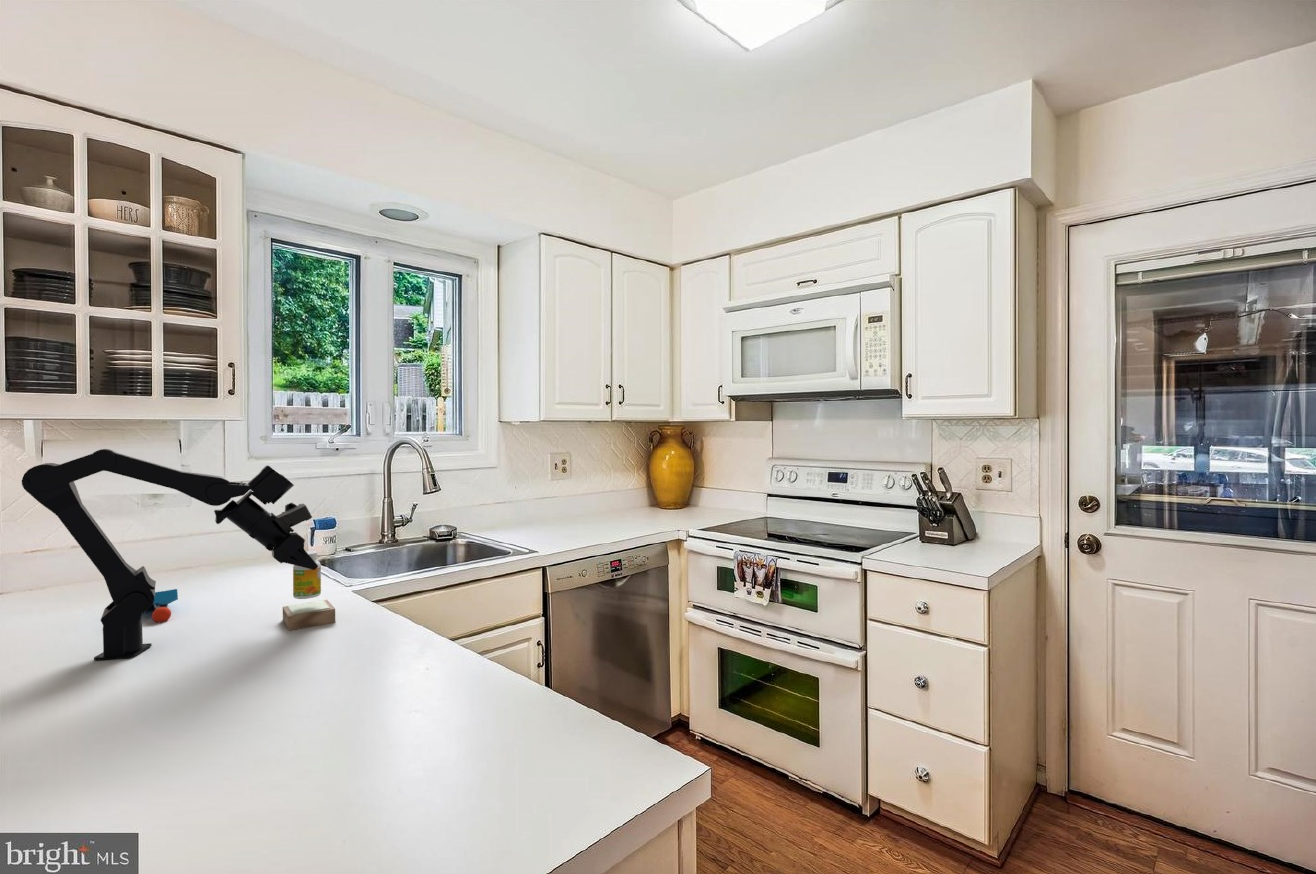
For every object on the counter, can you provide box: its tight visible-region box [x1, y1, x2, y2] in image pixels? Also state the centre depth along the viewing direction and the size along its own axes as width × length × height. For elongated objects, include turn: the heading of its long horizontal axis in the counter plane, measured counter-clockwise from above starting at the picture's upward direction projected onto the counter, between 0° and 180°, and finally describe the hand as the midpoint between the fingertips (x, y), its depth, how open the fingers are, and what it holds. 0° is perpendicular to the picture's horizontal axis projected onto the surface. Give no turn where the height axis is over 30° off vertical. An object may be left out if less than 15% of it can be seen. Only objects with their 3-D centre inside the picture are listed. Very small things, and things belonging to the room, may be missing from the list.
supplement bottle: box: [292, 550, 322, 600], centre depth 139 cm, size 5×5×10 cm
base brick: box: [282, 599, 336, 631], centre depth 139 cm, size 9×9×3 cm
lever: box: [150, 588, 179, 623], centre depth 145 cm, size 7×7×18 cm
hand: (314, 565), depth 140 cm, fingers closed on supplement bottle, 5 cm apart
